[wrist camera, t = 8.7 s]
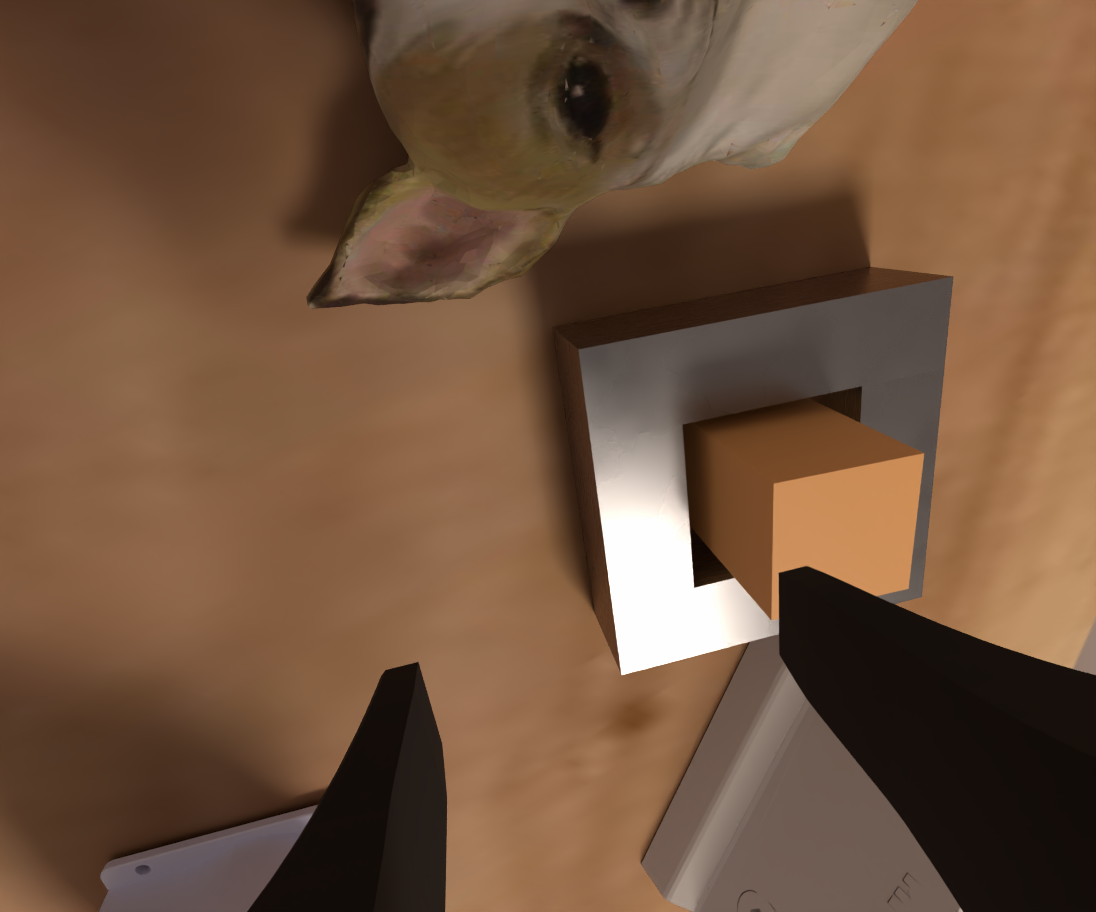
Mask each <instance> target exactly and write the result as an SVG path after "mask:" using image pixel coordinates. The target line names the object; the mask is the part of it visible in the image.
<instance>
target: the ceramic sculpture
mask: <svg viewBox="0 0 1096 912" xmlns="http://www.w3.org/2000/svg"><path fill="white" fill-rule="evenodd" d="M917 1H918V0H353V7H354V15H355V24H356V29H357V33H358V36H359V40H360V44H361V47H362V51H363V55H364V58H365V62H366V66H367V69H368V73H369V77H370V80H371V83H372V86H373V89H374V92H375V95H376V98H377V101H378V103H379V105H380V107H381V110H382V112H383V114H384V116H385V118H386V120H387V122H388V125H389V127H390V129H391V130H392V131H393V133H394V134H395V135H396V137H397V138H398V140H399V141H400V142H401V144H402V145H403V147H404V148H405V150H406V152H407V153H408V155H409V160H408V162H407V163H406V164H404V165H401V166H398V167H395V168H392V169H391V170H389V171H388V172H387V173H385V174H384V175H383V176H382V177H380V178H379V179H377V180H375V181H373V182H372V183H370V184H369V185H368V186H367V187H366V188H365V189H364V190H363V191H362V192H361V194H360V195H359V196H358V197H357V198H356V201H355V203H354V206H353V208H352V211H351V213H350V215H349V218H348V220H347V223H346V225H345V228H344V230H343V233H342V235H341V238H340V240H339V243H338V245H337V248H336V250H335V253H334V255H333V258H332V260H331V263H330V265H329V266H328V268H327V269H326V270H325V272H324V273H323V274H322V275H321V277H320V278H319V279H318V281H317V282H316V283H315V285H314V286H313V288H312V289H311V291H310V293H309V294H308V296H307V303H308V307H309V308H312V309H316V308H330V307H342V306H349V305H355V304H362V303H366V304H373V305H387V304H405V303H414V302H432V301H436V300H439V299H444V300H449V299H458V298H459V299H470V298H472V297H474V296H475V295H477V294H478V293H480V292H481V291H483V290H484V289H486V288H488V287H490V286H492V285H495V284H497V283H500V282H502V281H504V280H508V279H512V278H516V277H520V276H523V275H524V274H525V273H526V272H527V271H528V270H529V269H530V268H531V267H532V266H533V265H534V264H535V263H536V262H537V261H538V260H539V259H540V258H541V257H542V256H543V255H544V254H545V253H546V252H547V251H548V250H549V249H550V248H551V247H552V246H553V245H554V244H555V243H556V241H557V239H558V237H559V235H560V233H561V232H562V229H563V227H564V225H565V223H566V221H567V220H568V218H569V217H570V216H571V215H572V214H573V212H574V211H575V210H576V209H577V208H578V207H579V206H580V205H581V204H583V203H586V202H588V201H590V200H592V199H593V198H595V197H597V196H599V195H601V194H604V193H606V192H608V191H613V190H624V189H632V188H640V187H646V186H652V185H659V184H662V183H664V182H665V181H666V180H667V179H668V178H670V177H671V176H672V175H674V174H676V173H681V172H683V171H685V170H687V169H689V168H690V167H692V166H694V165H696V164H699V163H703V162H707V161H713V160H716V161H719V162H721V163H724V164H727V165H741V166H744V167H746V168H749V169H756V168H762V167H768V166H770V165H773V164H775V163H777V162H779V161H781V160H783V159H784V158H785V157H786V155H787V154H788V153H789V151H790V150H791V149H792V147H793V146H794V145H795V143H796V142H797V141H798V139H799V138H800V137H801V136H802V135H803V134H804V133H805V132H806V131H807V130H808V129H809V128H810V127H811V126H812V125H813V124H814V123H815V122H816V121H817V120H818V119H819V118H821V117H822V116H823V115H824V114H825V113H826V112H827V111H828V110H829V109H830V108H831V107H832V106H833V105H834V103H835V102H836V101H837V100H838V99H839V97H840V96H841V95H842V94H843V93H844V91H845V90H846V89H847V88H848V87H849V85H850V84H851V83H852V82H853V81H854V79H855V78H856V77H857V76H858V74H859V73H860V72H861V70H862V69H863V68H864V66H865V65H866V64H867V63H868V61H869V60H870V59H871V57H872V56H873V55H874V54H875V53H876V51H877V50H878V49H879V48H880V47H881V46H882V44H883V43H884V42H885V41H886V40H887V39H888V37H889V36H890V35H891V34H892V33H893V32H894V30H895V29H896V28H897V27H898V26H899V24H900V23H901V22H902V21H903V20H904V18H905V17H906V16H907V15H908V14H909V12H910V11H911V10H912V8H913V7H914V5H915V4H916V2H917Z"/></svg>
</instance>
